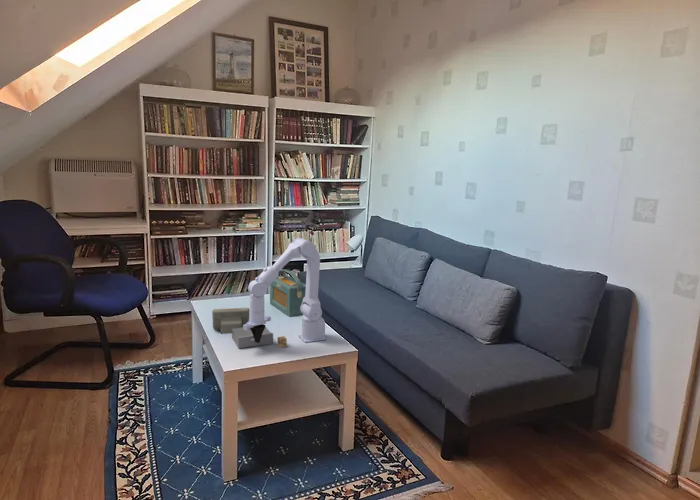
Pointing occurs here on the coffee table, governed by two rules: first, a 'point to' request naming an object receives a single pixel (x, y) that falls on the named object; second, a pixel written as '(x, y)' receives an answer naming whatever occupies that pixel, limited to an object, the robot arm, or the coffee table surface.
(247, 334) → the player housing
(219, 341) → the coffee table surface
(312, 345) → the coffee table surface
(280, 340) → the tan wooden block
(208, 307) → the coffee table surface
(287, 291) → the radio
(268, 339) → the grey drawer
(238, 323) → the digital clock
